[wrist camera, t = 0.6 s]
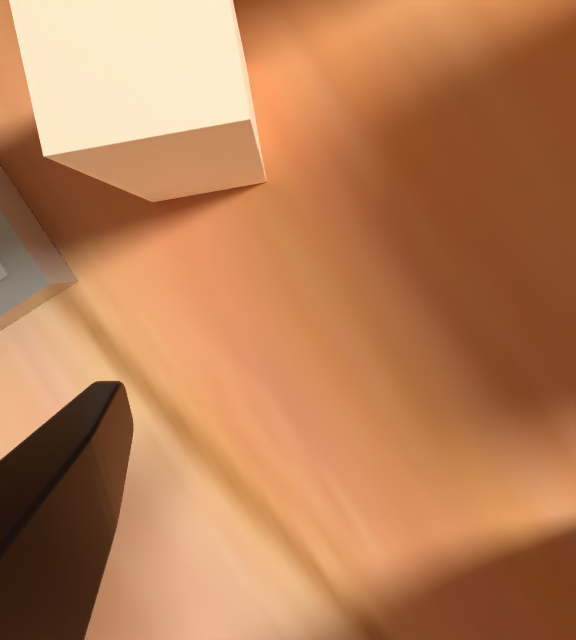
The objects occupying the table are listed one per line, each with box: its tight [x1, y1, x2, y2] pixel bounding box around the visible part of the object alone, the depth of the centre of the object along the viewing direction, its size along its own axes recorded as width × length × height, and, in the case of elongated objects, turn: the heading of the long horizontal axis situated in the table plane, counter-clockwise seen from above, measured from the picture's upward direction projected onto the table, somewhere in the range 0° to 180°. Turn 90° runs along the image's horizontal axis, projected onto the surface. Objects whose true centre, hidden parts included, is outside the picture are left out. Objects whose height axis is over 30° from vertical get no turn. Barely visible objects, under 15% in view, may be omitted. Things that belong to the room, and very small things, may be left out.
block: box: [9, 0, 267, 202], centre depth 16 cm, size 4×4×10 cm
